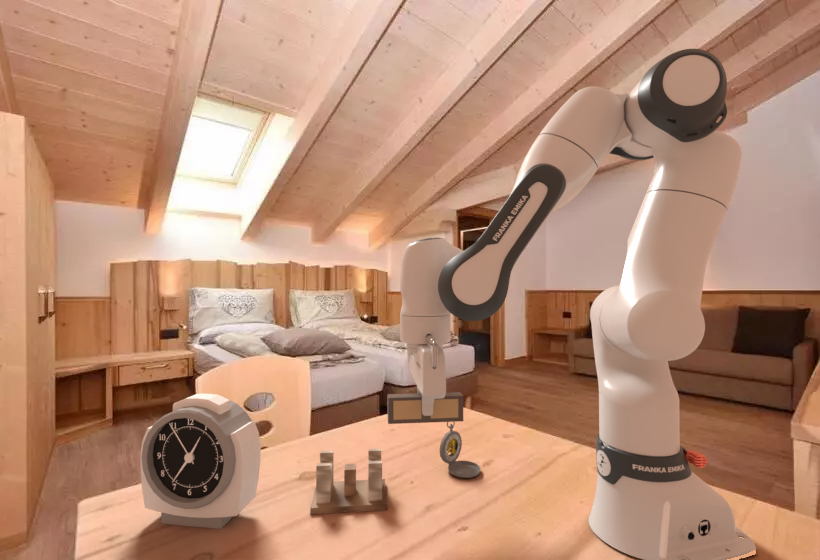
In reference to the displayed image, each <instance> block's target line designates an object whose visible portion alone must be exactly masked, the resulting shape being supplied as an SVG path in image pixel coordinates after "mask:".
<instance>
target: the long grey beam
mask: <svg viewBox="0 0 820 560" xmlns="http://www.w3.org/2000/svg"><path fill="white" fill-rule="evenodd" d="M421 403H422V395H421V393H418V392H417V393H412V392H411V393H387V424H388V425H396V424H397V425H398V424H399V425H400V424H421V423H422V424H423V423H424V424H427V423H447V422H448V423H450V422H453V423H454V422H455V423H456V422H464V395H463V394H462V393H461V392H460V391H452V392H451V391H450V392H448V391H446V394H445V397H444V398H442V399H434V403H433V414H432V415H431V416H424V415H423V414H422V411H421V409H422V408H421Z"/></svg>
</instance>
